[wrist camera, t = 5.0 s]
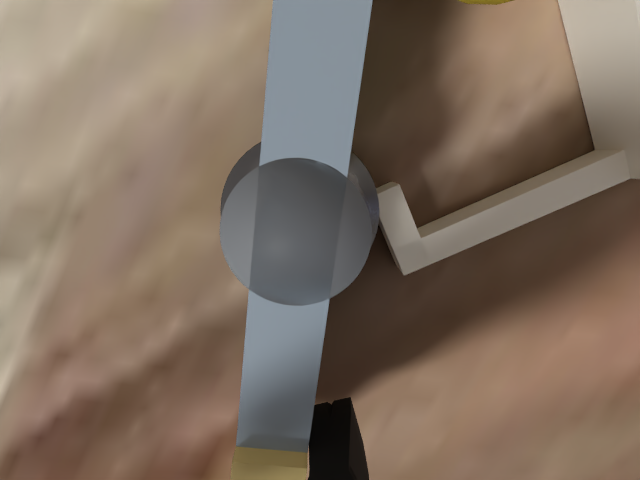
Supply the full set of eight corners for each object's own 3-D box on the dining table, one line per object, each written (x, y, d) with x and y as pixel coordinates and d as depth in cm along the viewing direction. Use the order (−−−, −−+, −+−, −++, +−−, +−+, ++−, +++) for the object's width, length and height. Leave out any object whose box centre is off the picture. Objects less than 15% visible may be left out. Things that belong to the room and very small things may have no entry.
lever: (421, -182, 8) (479, -362, 5) (317, 480, 13) (318, 574, 10) (271, -209, 8) (248, -410, 5) (222, 472, 13) (195, 566, 10)
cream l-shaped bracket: (547, -194, 10) (624, -307, 7) (628, 164, 12) (705, 166, 10) (265, -45, 11) (251, -102, 8) (395, 264, 13) (414, 289, 11)
